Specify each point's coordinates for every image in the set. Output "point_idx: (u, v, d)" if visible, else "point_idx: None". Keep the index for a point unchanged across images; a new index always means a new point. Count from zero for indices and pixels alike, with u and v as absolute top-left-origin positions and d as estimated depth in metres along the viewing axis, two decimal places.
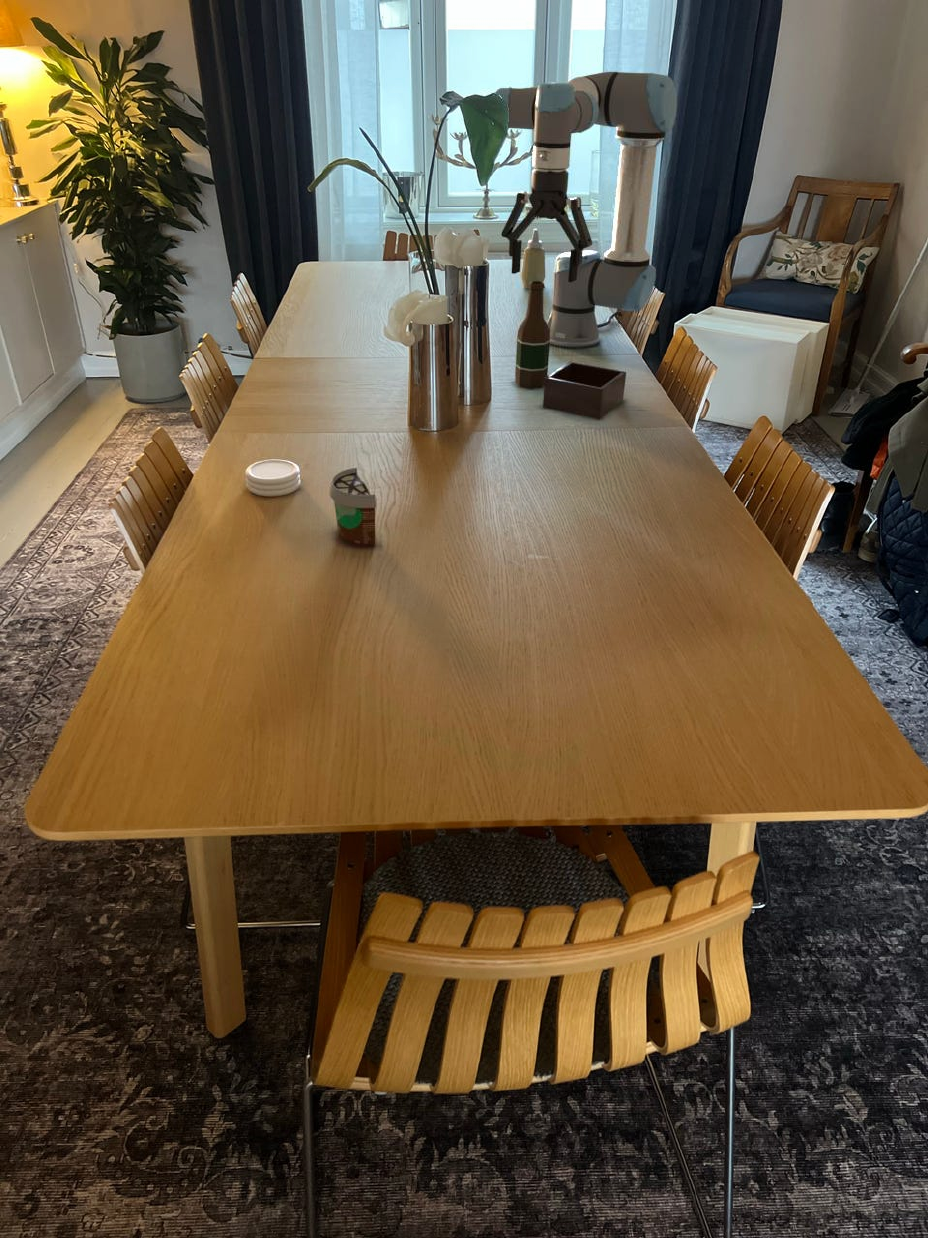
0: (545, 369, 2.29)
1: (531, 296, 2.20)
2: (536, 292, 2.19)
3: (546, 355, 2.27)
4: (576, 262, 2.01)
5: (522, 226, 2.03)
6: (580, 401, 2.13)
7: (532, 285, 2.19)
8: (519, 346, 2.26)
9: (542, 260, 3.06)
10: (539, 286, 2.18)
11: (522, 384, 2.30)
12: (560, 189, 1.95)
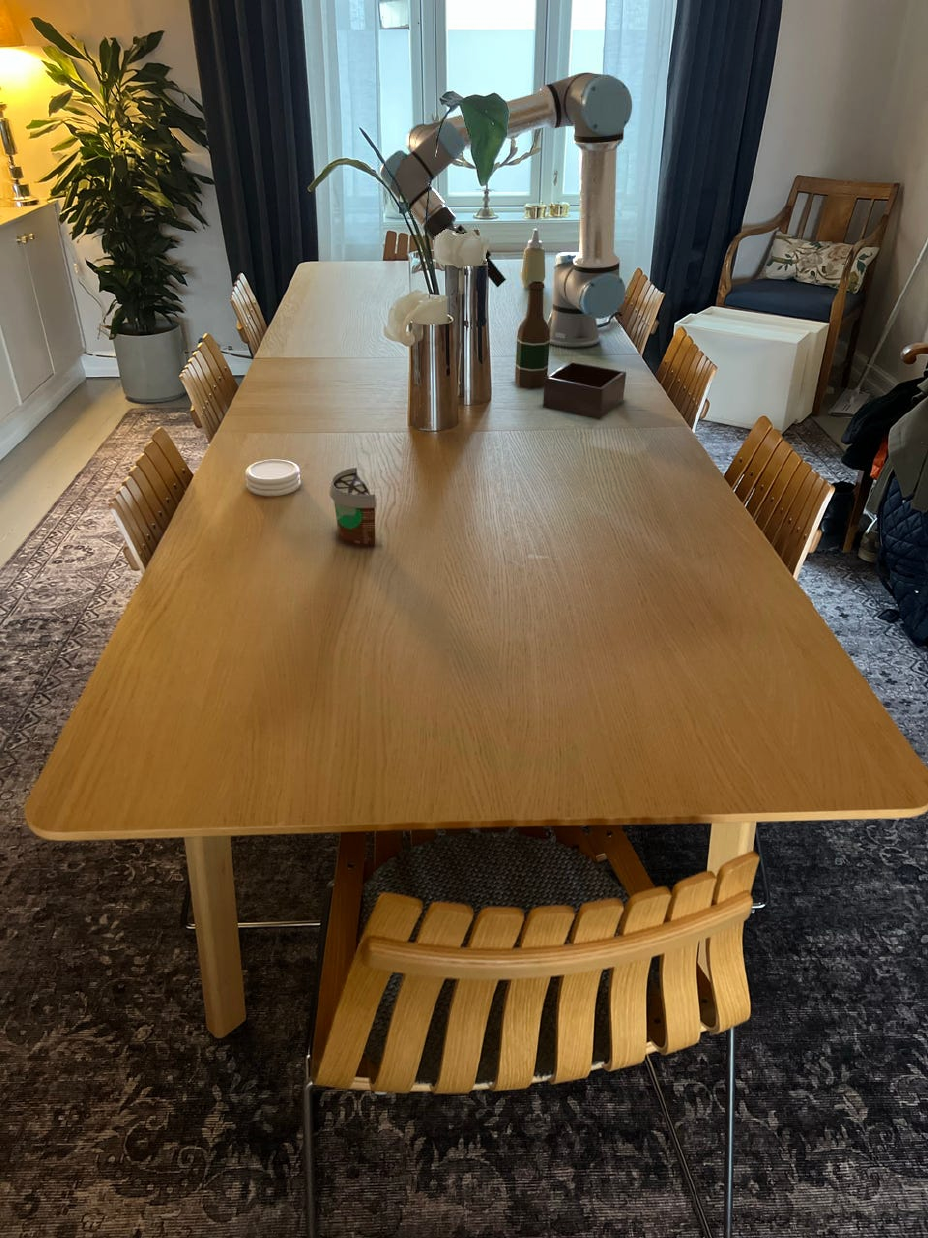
0: (545, 369, 2.29)
1: (531, 296, 2.20)
2: (536, 292, 2.19)
3: (546, 355, 2.27)
4: None
5: None
6: (580, 401, 2.13)
7: (532, 285, 2.19)
8: (519, 346, 2.26)
9: (542, 260, 3.06)
10: (539, 286, 2.18)
11: (522, 384, 2.30)
12: (432, 235, 2.19)
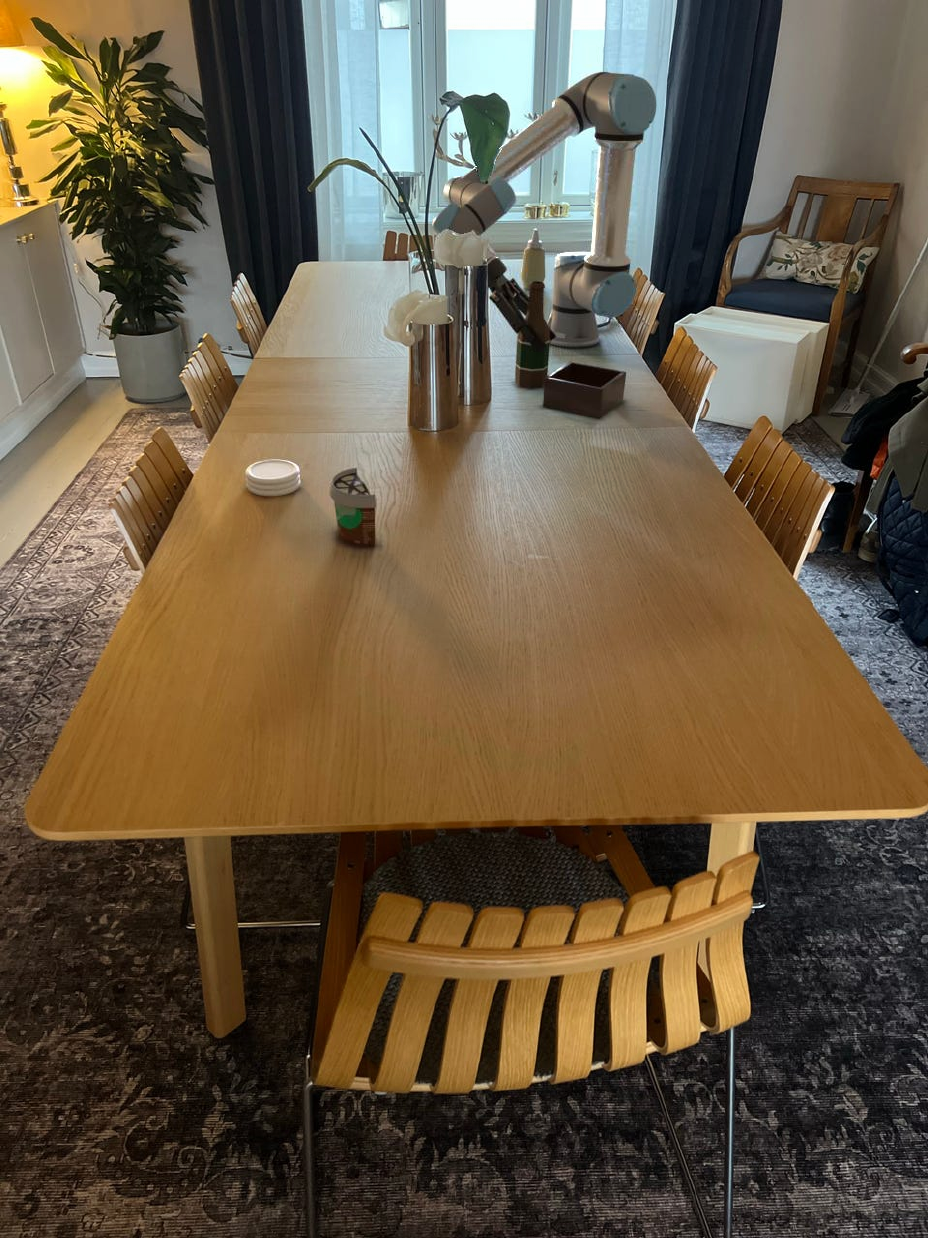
0: (545, 369, 2.29)
1: (531, 296, 2.20)
2: (536, 292, 2.19)
3: (546, 355, 2.27)
4: None
5: None
6: (580, 401, 2.13)
7: (532, 285, 2.19)
8: (519, 346, 2.26)
9: (542, 260, 3.06)
10: (539, 286, 2.18)
11: (522, 384, 2.29)
12: None
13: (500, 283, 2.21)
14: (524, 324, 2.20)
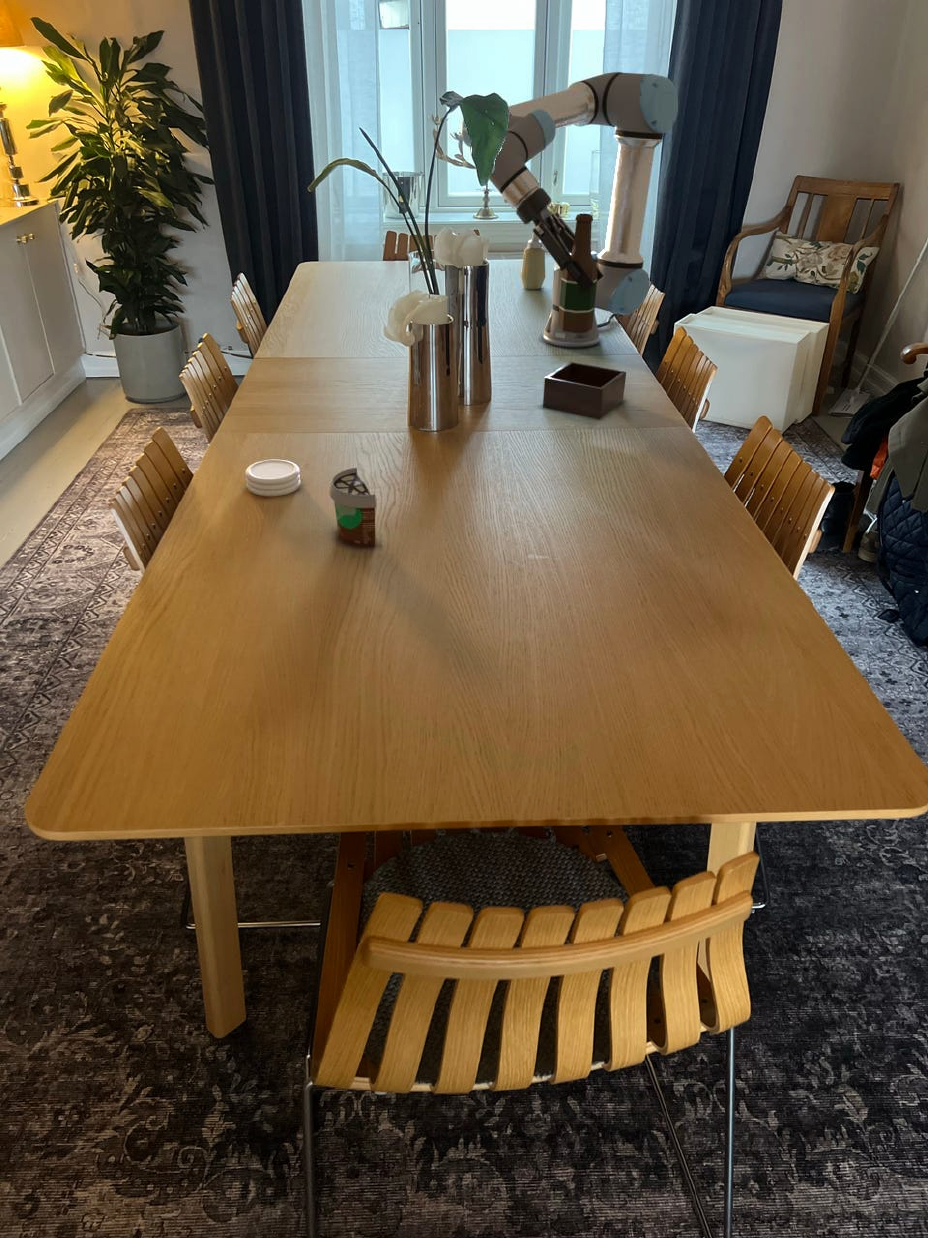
0: (591, 311, 2.11)
1: (578, 229, 2.03)
2: (584, 225, 2.02)
3: (592, 296, 2.09)
4: None
5: None
6: (580, 401, 2.13)
7: (580, 217, 2.01)
8: (564, 286, 2.09)
9: (542, 260, 3.06)
10: (587, 218, 2.01)
11: (565, 327, 2.12)
12: (527, 219, 2.03)
13: (544, 216, 2.03)
14: (570, 260, 2.02)
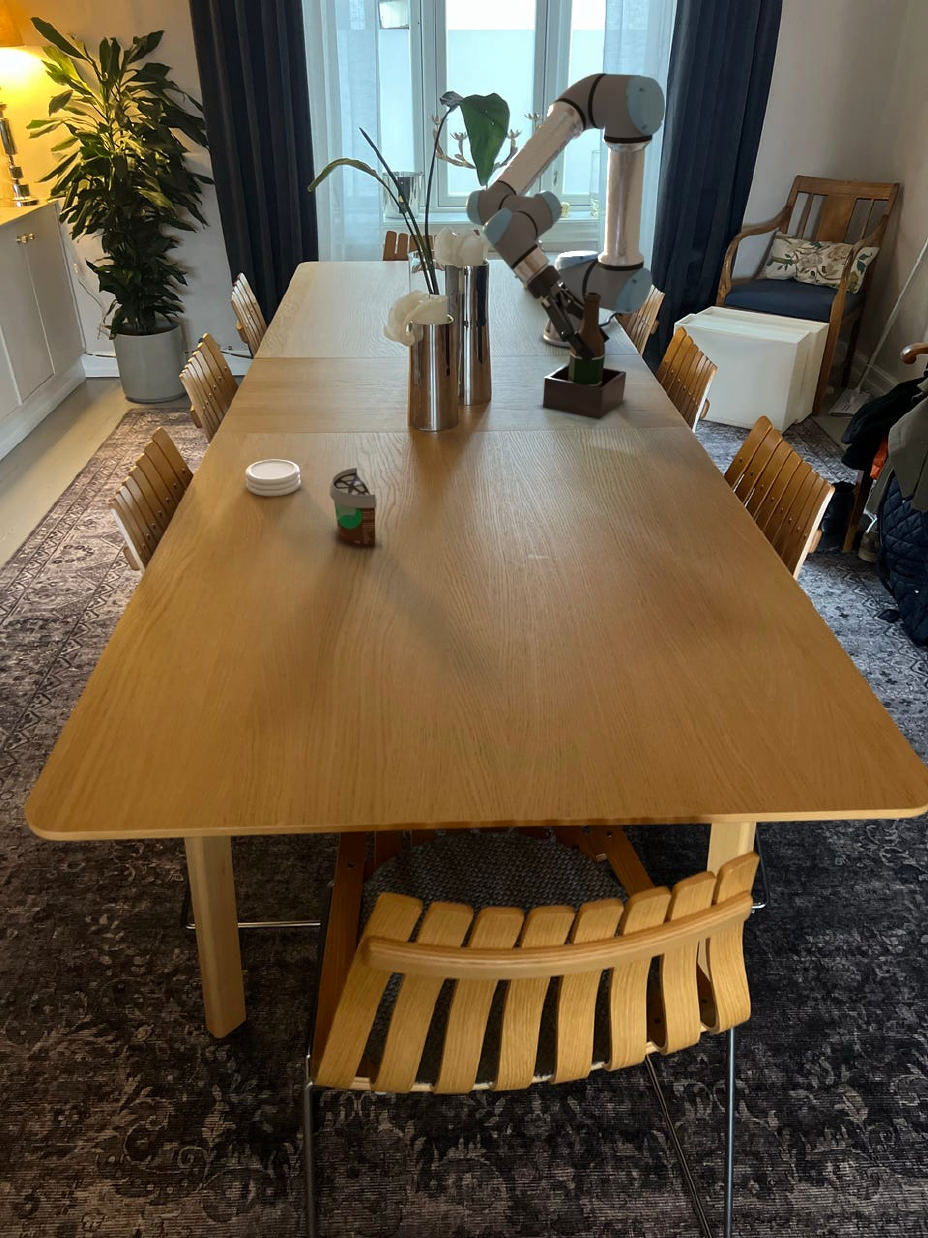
0: (599, 384, 2.17)
1: (587, 308, 2.08)
2: (592, 304, 2.07)
3: (600, 370, 2.15)
4: None
5: None
6: (580, 401, 2.13)
7: (588, 296, 2.07)
8: (573, 361, 2.14)
9: None
10: (595, 297, 2.07)
11: None
12: (537, 295, 2.09)
13: (554, 292, 2.09)
14: (572, 332, 2.05)
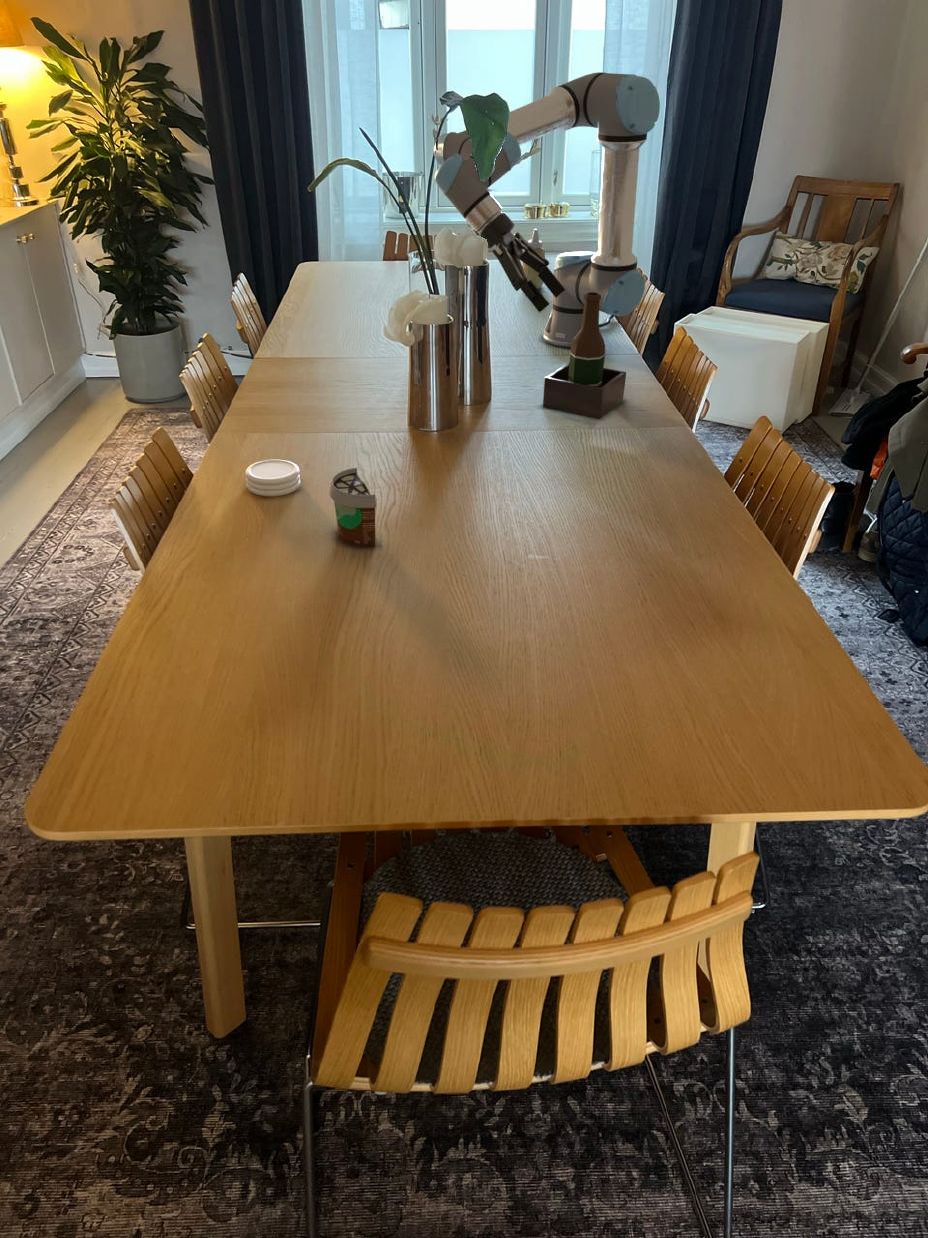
0: (599, 384, 2.17)
1: (587, 308, 2.08)
2: (592, 304, 2.07)
3: (600, 370, 2.15)
4: None
5: None
6: (580, 401, 2.13)
7: (588, 296, 2.07)
8: (573, 361, 2.14)
9: None
10: (595, 297, 2.07)
11: None
12: (490, 243, 2.07)
13: (507, 240, 2.07)
14: (524, 280, 2.03)
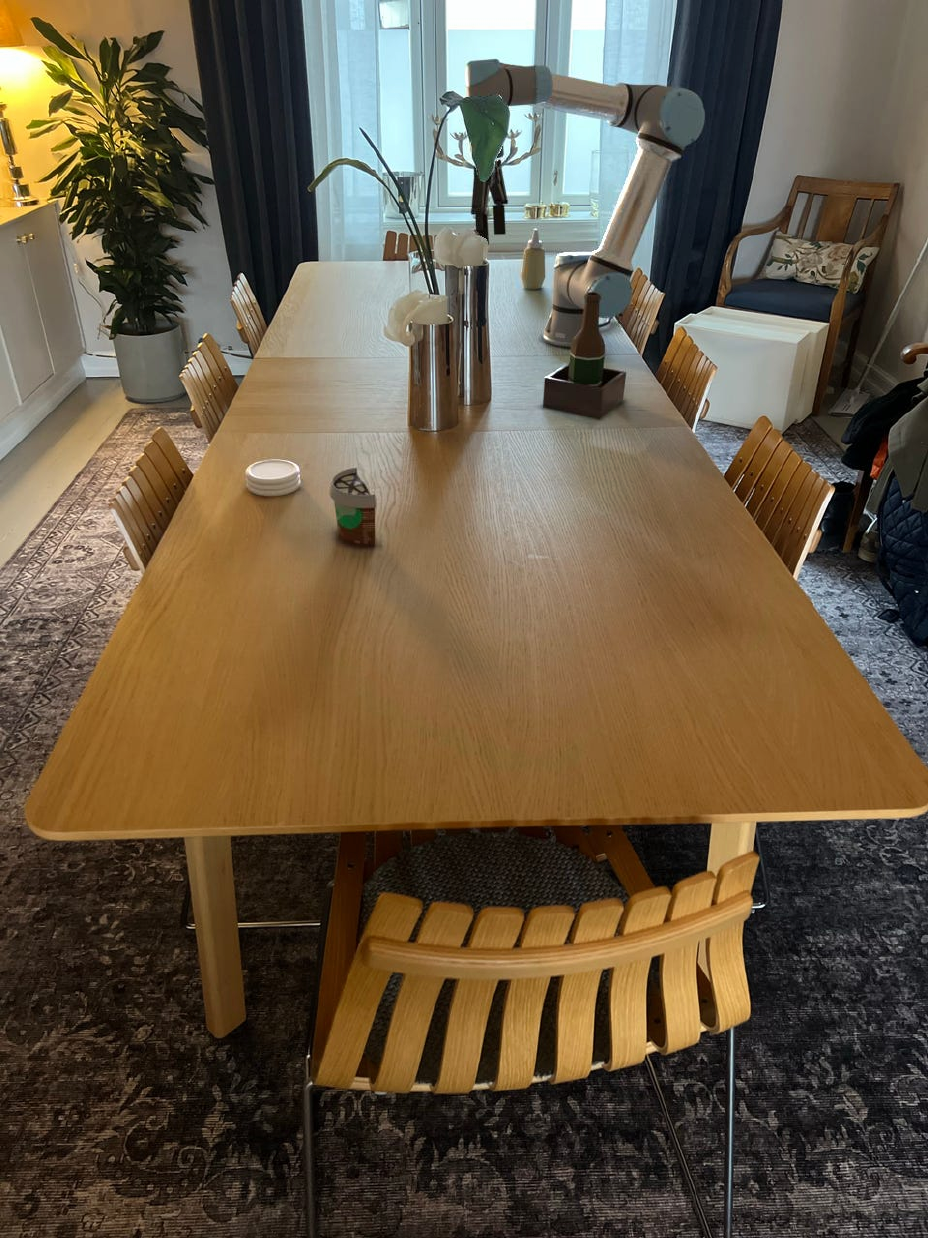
0: (599, 384, 2.17)
1: (587, 308, 2.08)
2: (592, 304, 2.07)
3: (600, 370, 2.15)
4: None
5: None
6: (580, 401, 2.13)
7: (588, 296, 2.07)
8: (573, 361, 2.14)
9: (542, 260, 3.06)
10: (595, 297, 2.07)
11: None
12: None
13: None
14: (483, 212, 2.14)
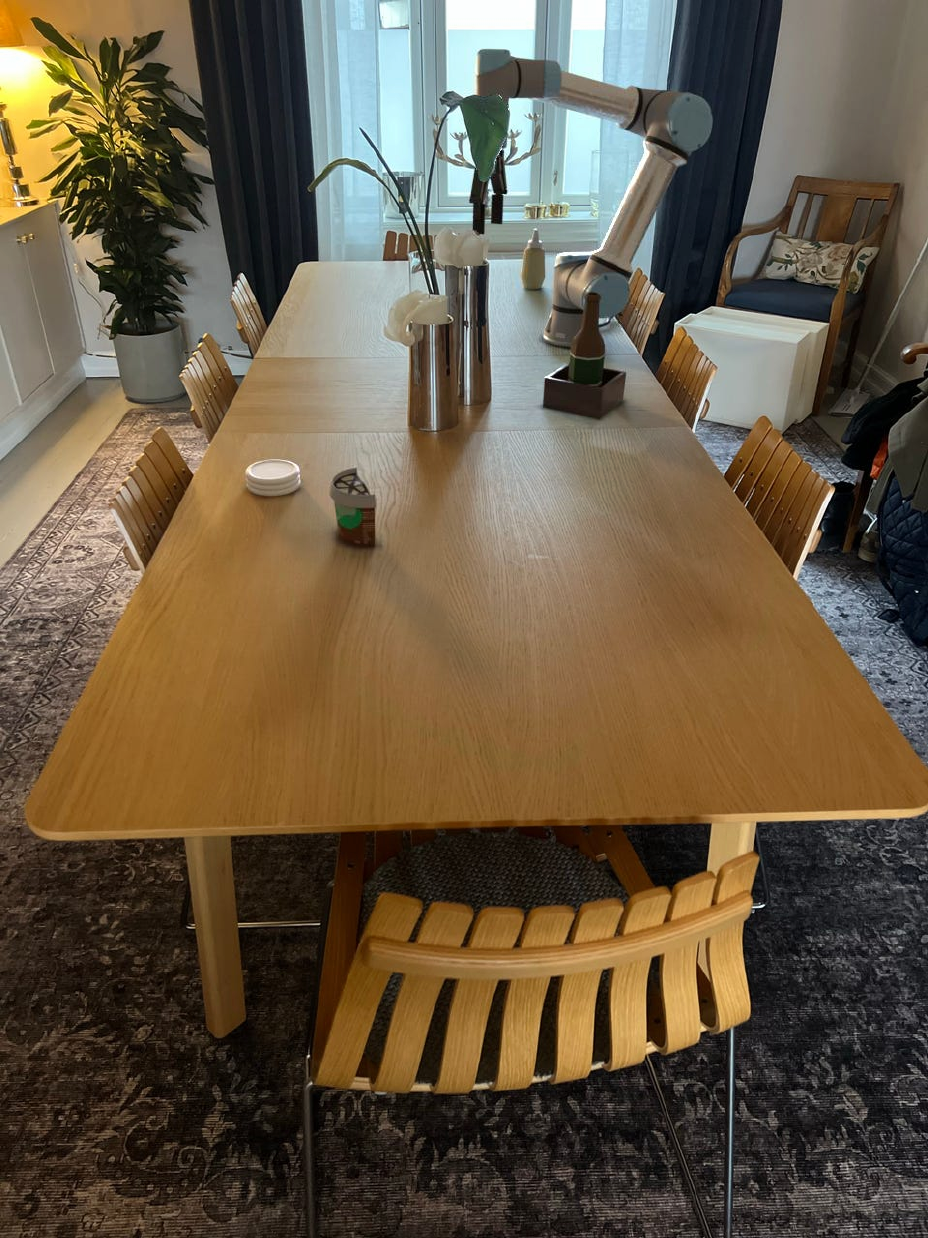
0: (599, 384, 2.17)
1: (587, 308, 2.08)
2: (592, 304, 2.07)
3: (600, 370, 2.15)
4: None
5: None
6: (580, 401, 2.13)
7: (588, 296, 2.07)
8: (573, 361, 2.14)
9: (542, 260, 3.06)
10: (595, 297, 2.07)
11: None
12: None
13: None
14: (481, 202, 2.16)
